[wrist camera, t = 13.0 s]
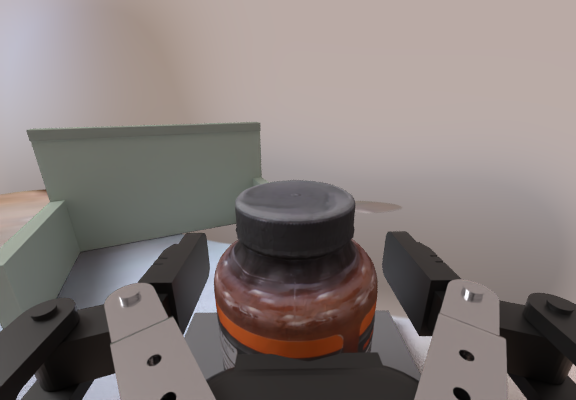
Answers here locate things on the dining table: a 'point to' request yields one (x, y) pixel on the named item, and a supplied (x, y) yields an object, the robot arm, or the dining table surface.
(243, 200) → the supplement bottle
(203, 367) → the slate tile
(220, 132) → the sage green open tray
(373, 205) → the dining table surface
